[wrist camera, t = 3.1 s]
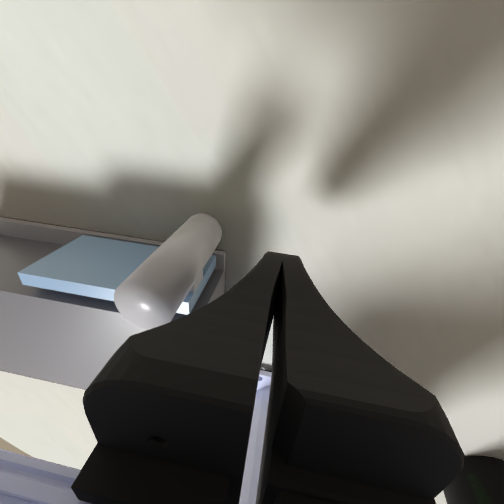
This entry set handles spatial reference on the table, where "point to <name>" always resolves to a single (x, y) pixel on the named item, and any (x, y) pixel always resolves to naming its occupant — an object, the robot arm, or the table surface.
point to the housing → (63, 310)
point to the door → (135, 271)
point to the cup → (477, 482)
